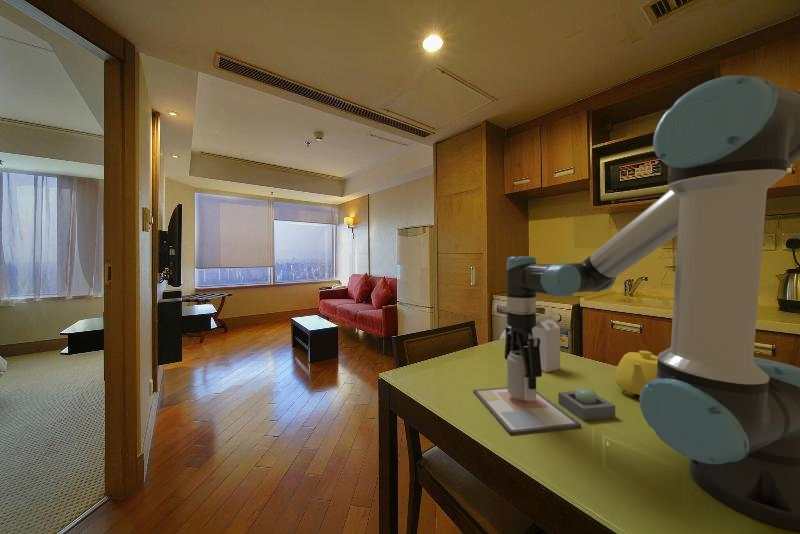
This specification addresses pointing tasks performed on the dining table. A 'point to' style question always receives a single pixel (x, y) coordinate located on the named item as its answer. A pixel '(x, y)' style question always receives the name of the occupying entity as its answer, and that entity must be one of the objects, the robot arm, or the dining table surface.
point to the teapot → (636, 371)
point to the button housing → (586, 407)
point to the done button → (585, 396)
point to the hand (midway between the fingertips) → (521, 392)
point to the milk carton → (548, 342)
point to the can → (516, 375)
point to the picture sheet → (524, 412)
